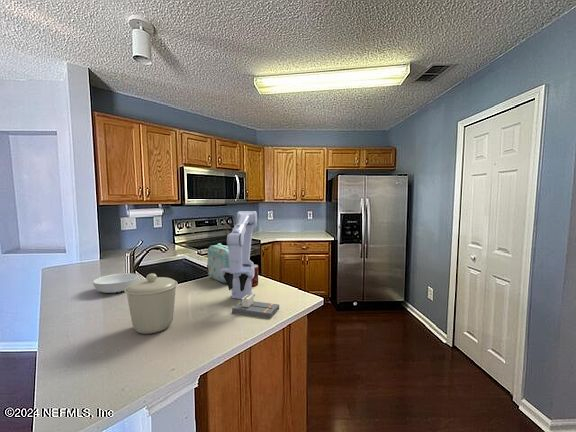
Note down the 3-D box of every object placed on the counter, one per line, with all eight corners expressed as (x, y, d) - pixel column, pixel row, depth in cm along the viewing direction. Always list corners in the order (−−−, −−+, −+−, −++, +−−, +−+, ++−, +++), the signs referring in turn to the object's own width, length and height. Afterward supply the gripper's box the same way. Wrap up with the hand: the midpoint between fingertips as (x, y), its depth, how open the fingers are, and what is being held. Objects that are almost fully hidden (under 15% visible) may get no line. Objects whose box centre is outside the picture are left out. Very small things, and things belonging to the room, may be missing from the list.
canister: (143, 317, 114) (141, 267, 113) (186, 317, 114) (184, 267, 112) (115, 339, 96) (112, 280, 95) (165, 339, 96) (163, 281, 94)
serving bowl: (141, 291, 146) (140, 279, 145) (93, 300, 134) (92, 286, 134) (136, 282, 163) (136, 270, 163) (94, 288, 151) (93, 276, 151)
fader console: (232, 312, 118) (232, 308, 118) (243, 304, 127) (243, 299, 127) (270, 318, 112) (270, 313, 112) (279, 308, 122) (279, 304, 122)
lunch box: (204, 276, 173) (203, 243, 172) (219, 273, 180) (218, 241, 179) (226, 286, 154) (225, 248, 152) (241, 282, 161) (241, 246, 159)
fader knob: (242, 306, 119) (241, 297, 119) (247, 302, 124) (247, 293, 124) (248, 307, 118) (248, 298, 118) (253, 302, 123) (253, 294, 123)
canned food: (256, 287, 151) (255, 267, 151) (242, 286, 153) (242, 267, 152) (260, 283, 159) (259, 264, 158) (247, 282, 160) (246, 263, 160)
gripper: (216, 260, 120) (217, 291, 121) (246, 263, 115) (246, 294, 116) (225, 257, 127) (225, 286, 127) (253, 259, 122) (254, 289, 123)
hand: (236, 289), depth 122 cm, fingers open, 5 cm apart
